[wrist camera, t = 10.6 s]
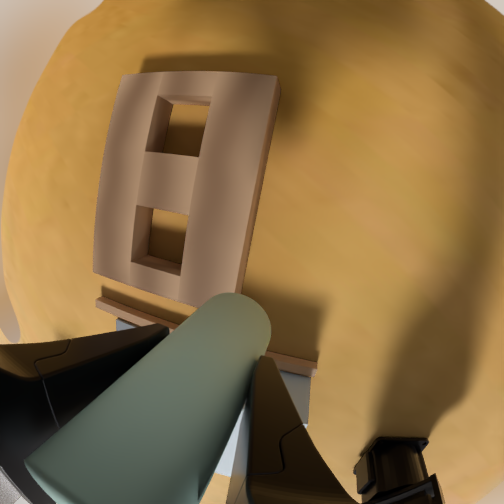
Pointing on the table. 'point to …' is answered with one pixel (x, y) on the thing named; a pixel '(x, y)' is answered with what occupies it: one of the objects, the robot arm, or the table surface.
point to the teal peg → (161, 415)
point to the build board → (184, 181)
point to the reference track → (145, 319)
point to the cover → (300, 396)
